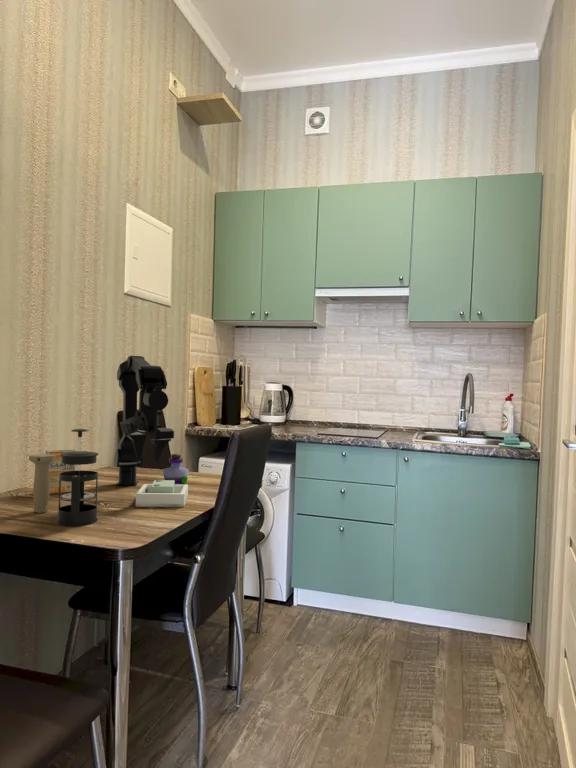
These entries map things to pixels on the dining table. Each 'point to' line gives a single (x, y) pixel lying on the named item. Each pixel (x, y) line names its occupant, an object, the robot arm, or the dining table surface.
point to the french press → (78, 488)
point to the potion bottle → (176, 470)
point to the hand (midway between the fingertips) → (147, 459)
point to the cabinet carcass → (161, 497)
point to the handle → (41, 481)
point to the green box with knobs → (163, 486)
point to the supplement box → (56, 469)
